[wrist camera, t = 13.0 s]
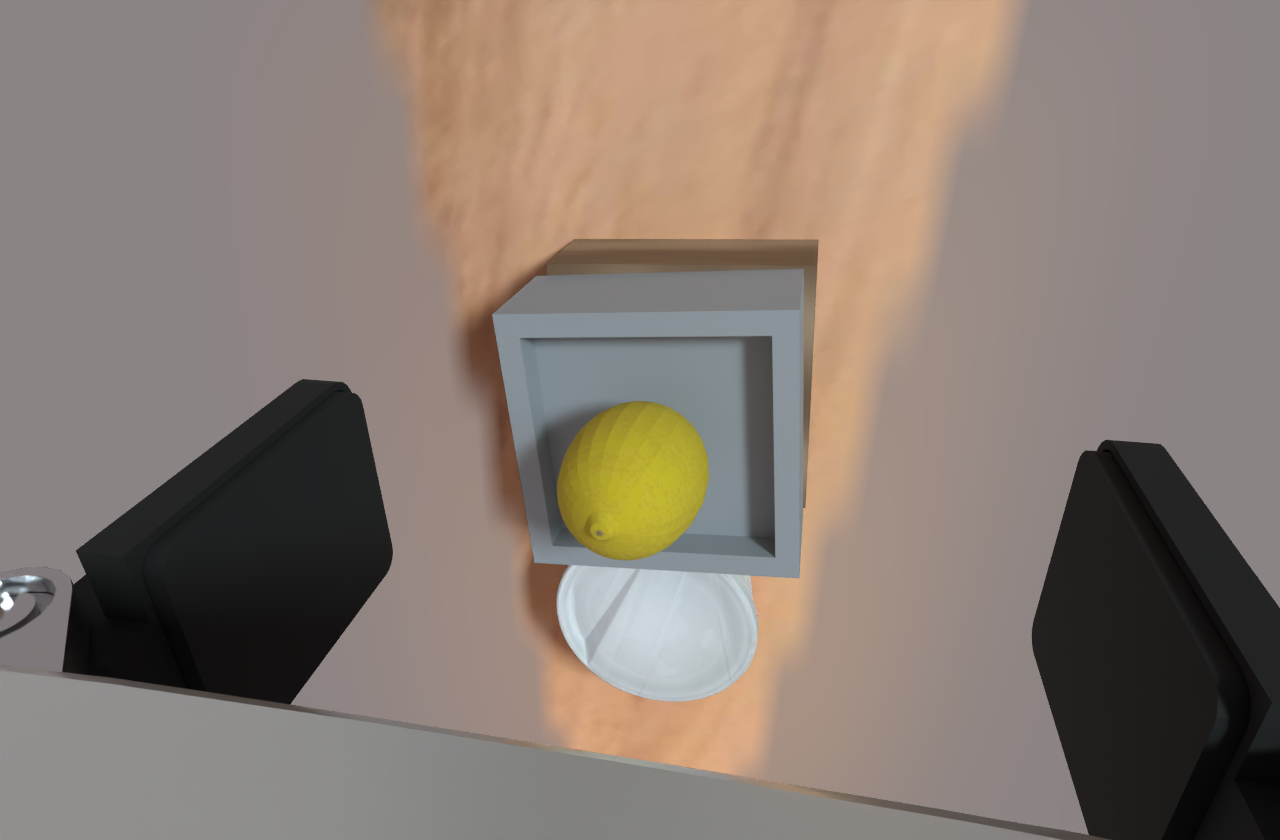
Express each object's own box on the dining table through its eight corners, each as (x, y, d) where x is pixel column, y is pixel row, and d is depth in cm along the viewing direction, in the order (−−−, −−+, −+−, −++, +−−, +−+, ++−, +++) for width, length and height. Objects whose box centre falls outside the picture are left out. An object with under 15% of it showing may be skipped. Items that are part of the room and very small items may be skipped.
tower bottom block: (576, 237, 41) (546, 263, 36) (818, 238, 38) (816, 266, 34) (593, 446, 46) (569, 491, 42) (807, 458, 44) (805, 508, 39)
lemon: (603, 479, 36) (528, 582, 29) (602, 364, 34) (521, 448, 27) (723, 500, 35) (674, 614, 28) (732, 381, 32) (680, 475, 25)
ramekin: (566, 488, 47) (537, 538, 43) (756, 485, 45) (747, 539, 40) (596, 638, 52) (573, 698, 47) (771, 644, 49) (764, 708, 45)
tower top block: (536, 275, 37) (492, 314, 32) (803, 268, 34) (799, 309, 29) (568, 500, 42) (534, 562, 37) (803, 509, 39) (799, 578, 34)
